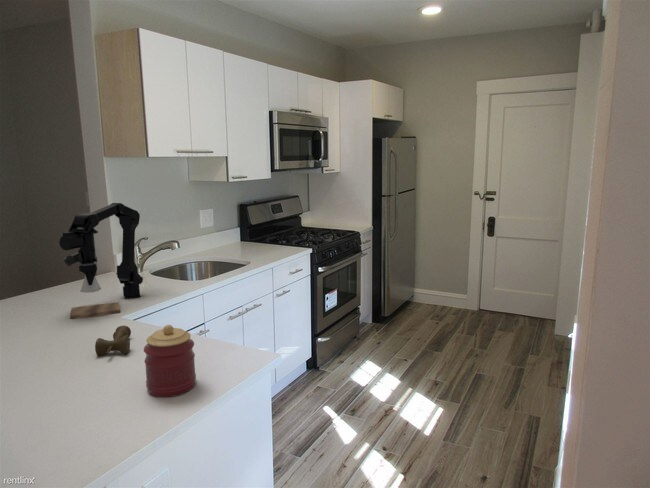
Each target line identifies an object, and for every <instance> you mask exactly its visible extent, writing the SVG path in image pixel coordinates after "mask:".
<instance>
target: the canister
mask: <svg viewBox="0 0 650 488" xmlns="http://www.w3.org/2000/svg"><path fill="white" fill-rule="evenodd" d="M194 346H195V342H194V340H193V339H192V338H191V333H190V332H188V331H187V330H185V329H182V328H177V327H173V325H172V324H166V325H164V326H163V328H162V329H158V330H156V331H154V332H153V333H152V334H151V335H150V336H147V338H146V344H145V346H144V347H143V352H144V353H145V355H146V356H145V357H144V358H145V359H144V366H145V376H146V381H145V384H146V390H147V391H148V393H149V394H150V395H152V396H154V397H159V398H171V397H175V396H181V395H183V394H186V393H187V392H190V391H191V390H192V389H193V388H194V387H195V386H196V380H197V378H196V377H197V373H196V366H195V364H196V362H195V355H196V353H195V352H194V351H193V348H194Z"/></svg>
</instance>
